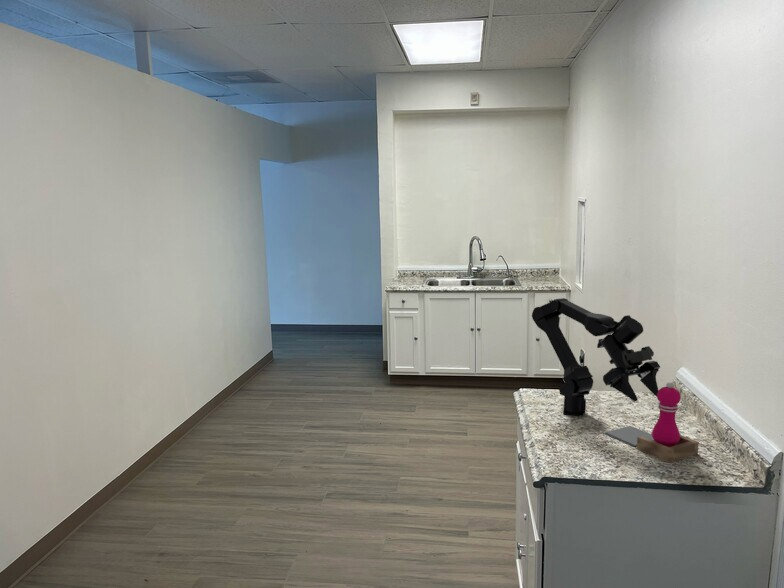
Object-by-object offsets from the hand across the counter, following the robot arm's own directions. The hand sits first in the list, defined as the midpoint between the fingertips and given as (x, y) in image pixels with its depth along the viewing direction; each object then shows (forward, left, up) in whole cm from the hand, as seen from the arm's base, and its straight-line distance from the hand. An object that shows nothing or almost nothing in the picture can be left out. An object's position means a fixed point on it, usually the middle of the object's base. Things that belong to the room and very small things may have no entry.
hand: (647, 398), depth 174 cm
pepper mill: (+5, -5, -13) cm, 15 cm away
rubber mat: (-3, +3, -13) cm, 14 cm away
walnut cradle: (+5, -5, -13) cm, 15 cm away
